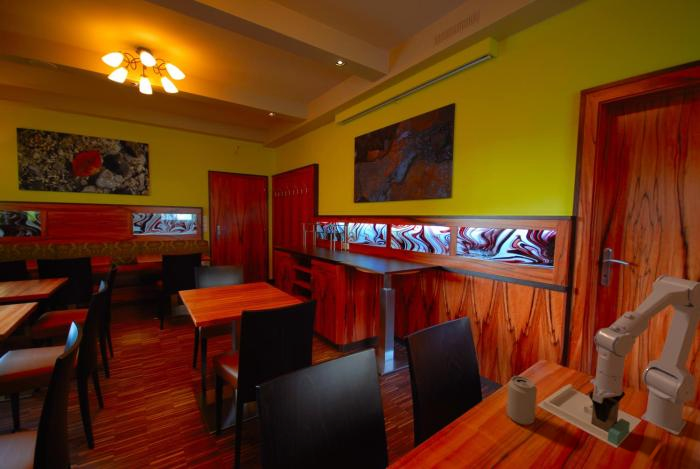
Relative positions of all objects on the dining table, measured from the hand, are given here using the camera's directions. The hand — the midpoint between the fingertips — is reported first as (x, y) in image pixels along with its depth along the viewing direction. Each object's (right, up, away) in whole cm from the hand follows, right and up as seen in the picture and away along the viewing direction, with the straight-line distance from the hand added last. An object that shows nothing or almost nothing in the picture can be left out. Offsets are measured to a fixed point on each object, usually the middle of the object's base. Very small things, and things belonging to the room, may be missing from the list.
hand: (604, 416), depth 90 cm
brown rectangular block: (0, -3, 0) cm, 3 cm away
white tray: (0, -4, +8) cm, 8 cm away
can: (-21, -4, +6) cm, 22 cm away
